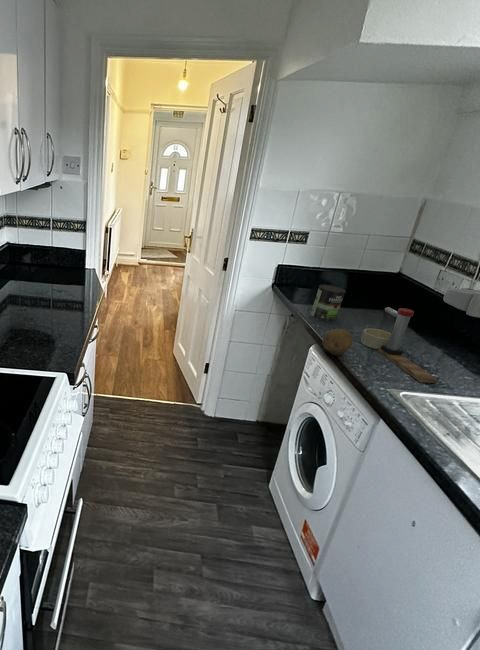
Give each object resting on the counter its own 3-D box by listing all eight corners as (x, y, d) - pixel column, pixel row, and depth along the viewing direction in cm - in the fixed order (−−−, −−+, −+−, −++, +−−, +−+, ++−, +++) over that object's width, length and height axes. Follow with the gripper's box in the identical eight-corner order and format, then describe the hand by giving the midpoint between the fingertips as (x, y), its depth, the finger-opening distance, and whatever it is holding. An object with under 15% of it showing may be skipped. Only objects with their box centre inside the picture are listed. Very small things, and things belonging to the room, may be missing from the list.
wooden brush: (435, 383, 132) (437, 379, 131) (420, 382, 132) (421, 378, 131) (391, 352, 152) (392, 348, 151) (377, 351, 152) (378, 347, 151)
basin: (390, 344, 159) (395, 332, 157) (391, 354, 151) (396, 341, 149) (360, 338, 163) (364, 326, 161) (359, 346, 155) (363, 334, 153)
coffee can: (340, 323, 179) (351, 292, 172) (320, 323, 176) (330, 292, 170) (324, 313, 188) (334, 284, 182) (304, 314, 186) (313, 284, 179)
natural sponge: (331, 361, 142) (340, 335, 138) (312, 349, 150) (321, 324, 146) (352, 359, 145) (362, 334, 140) (333, 348, 152) (341, 323, 148)
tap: (401, 355, 147) (417, 312, 140) (388, 354, 147) (404, 312, 140) (381, 341, 157) (395, 301, 151) (369, 340, 157) (382, 300, 151)
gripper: (551, 297, 108) (504, 282, 120) (473, 293, 107) (434, 278, 120) (540, 319, 110) (495, 302, 123) (463, 315, 110) (426, 299, 123)
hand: (464, 290), depth 121 cm, fingers closed
